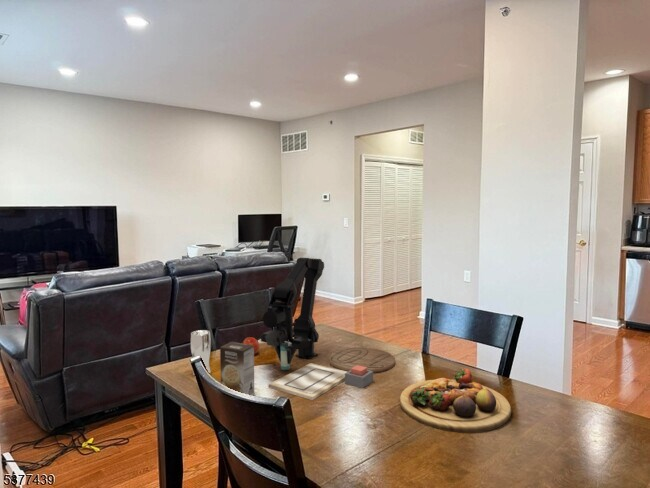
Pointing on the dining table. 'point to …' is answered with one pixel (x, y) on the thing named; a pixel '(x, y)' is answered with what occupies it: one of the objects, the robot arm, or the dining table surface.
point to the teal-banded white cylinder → (284, 357)
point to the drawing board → (309, 381)
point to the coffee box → (237, 367)
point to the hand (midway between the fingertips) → (285, 362)
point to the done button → (359, 370)
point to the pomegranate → (252, 343)
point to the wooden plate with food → (455, 404)
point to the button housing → (359, 379)
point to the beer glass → (201, 346)
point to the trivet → (362, 359)
